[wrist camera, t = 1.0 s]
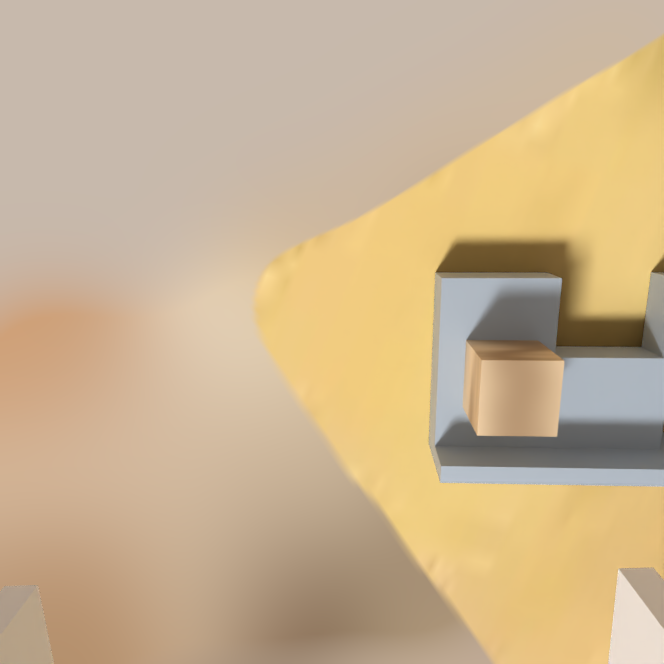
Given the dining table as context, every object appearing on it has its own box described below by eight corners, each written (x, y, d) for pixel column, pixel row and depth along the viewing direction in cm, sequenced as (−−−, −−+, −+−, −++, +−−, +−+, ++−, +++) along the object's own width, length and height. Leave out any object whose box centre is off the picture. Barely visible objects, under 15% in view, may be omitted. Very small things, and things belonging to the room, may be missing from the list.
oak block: (538, 340, 31) (564, 360, 27) (532, 407, 32) (557, 436, 28) (465, 339, 31) (481, 360, 27) (462, 406, 32) (477, 435, 28)
